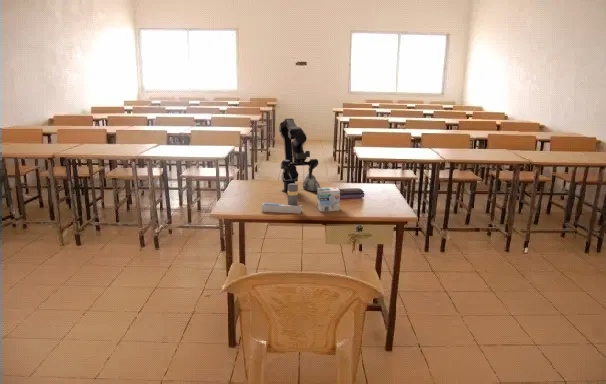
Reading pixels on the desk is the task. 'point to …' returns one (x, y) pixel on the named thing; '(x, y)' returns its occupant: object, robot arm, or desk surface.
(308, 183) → the mineral rock
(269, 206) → the white blue striped bracket
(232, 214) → the desk surface
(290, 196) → the grey banded capsule
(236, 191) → the desk surface
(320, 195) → the light bulb box
